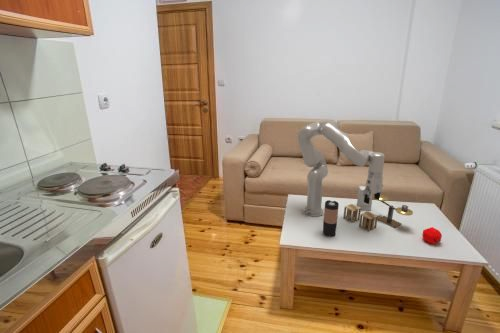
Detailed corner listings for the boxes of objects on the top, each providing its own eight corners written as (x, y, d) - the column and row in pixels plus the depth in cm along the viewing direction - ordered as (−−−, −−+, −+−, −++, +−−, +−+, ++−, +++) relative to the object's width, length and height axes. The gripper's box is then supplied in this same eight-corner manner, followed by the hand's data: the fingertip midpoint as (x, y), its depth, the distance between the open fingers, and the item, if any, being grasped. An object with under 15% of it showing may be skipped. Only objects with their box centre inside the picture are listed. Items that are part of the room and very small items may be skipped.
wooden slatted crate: (352, 222, 179) (353, 210, 176) (343, 218, 185) (344, 206, 182) (359, 219, 183) (360, 207, 180) (350, 215, 188) (351, 203, 185)
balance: (404, 233, 167) (408, 211, 162) (367, 216, 187) (370, 196, 182) (412, 228, 171) (416, 207, 167) (375, 212, 191) (378, 192, 186)
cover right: (368, 231, 169) (370, 218, 167) (359, 226, 175) (360, 214, 172) (376, 227, 173) (378, 215, 170) (366, 222, 179) (367, 211, 176)
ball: (432, 247, 154) (435, 234, 152) (419, 239, 161) (421, 227, 158) (442, 243, 157) (445, 231, 155) (428, 236, 164) (431, 224, 161)
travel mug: (328, 238, 163) (331, 207, 156) (319, 232, 169) (322, 201, 163) (338, 234, 166) (341, 204, 160) (329, 228, 173) (332, 199, 166)
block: (368, 229, 171) (369, 222, 170) (362, 226, 175) (363, 219, 173) (372, 227, 173) (373, 220, 172) (366, 224, 177) (367, 217, 175)
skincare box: (368, 206, 200) (371, 186, 195) (371, 210, 194) (374, 189, 189) (356, 205, 201) (358, 185, 196) (358, 210, 194) (361, 189, 189)
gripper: (371, 178, 155) (367, 207, 161) (390, 172, 164) (386, 199, 169) (359, 175, 161) (356, 202, 167) (378, 169, 170) (374, 195, 176)
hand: (371, 200), depth 168 cm, fingers open, 9 cm apart
